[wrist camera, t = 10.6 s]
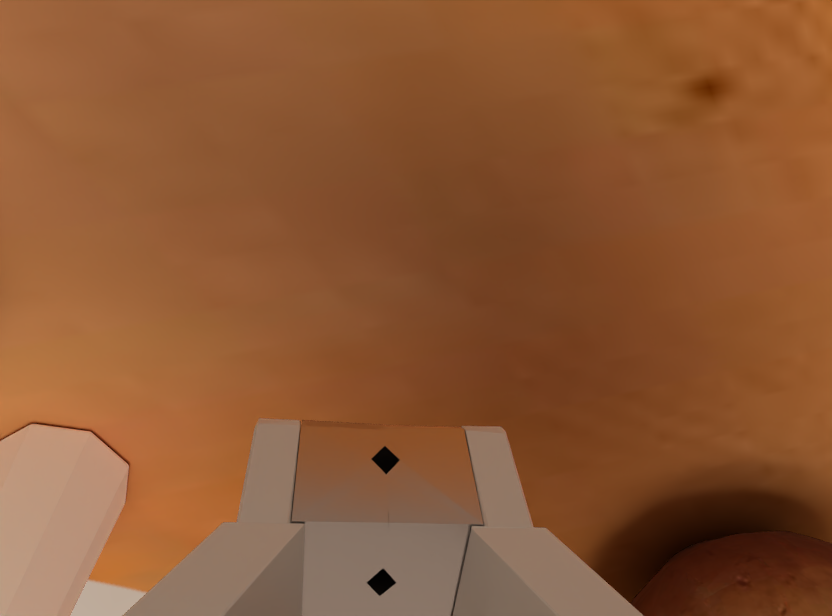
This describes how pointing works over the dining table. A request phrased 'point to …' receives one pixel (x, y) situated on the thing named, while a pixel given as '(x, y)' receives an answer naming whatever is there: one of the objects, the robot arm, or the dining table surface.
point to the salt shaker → (54, 516)
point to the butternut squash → (744, 578)
